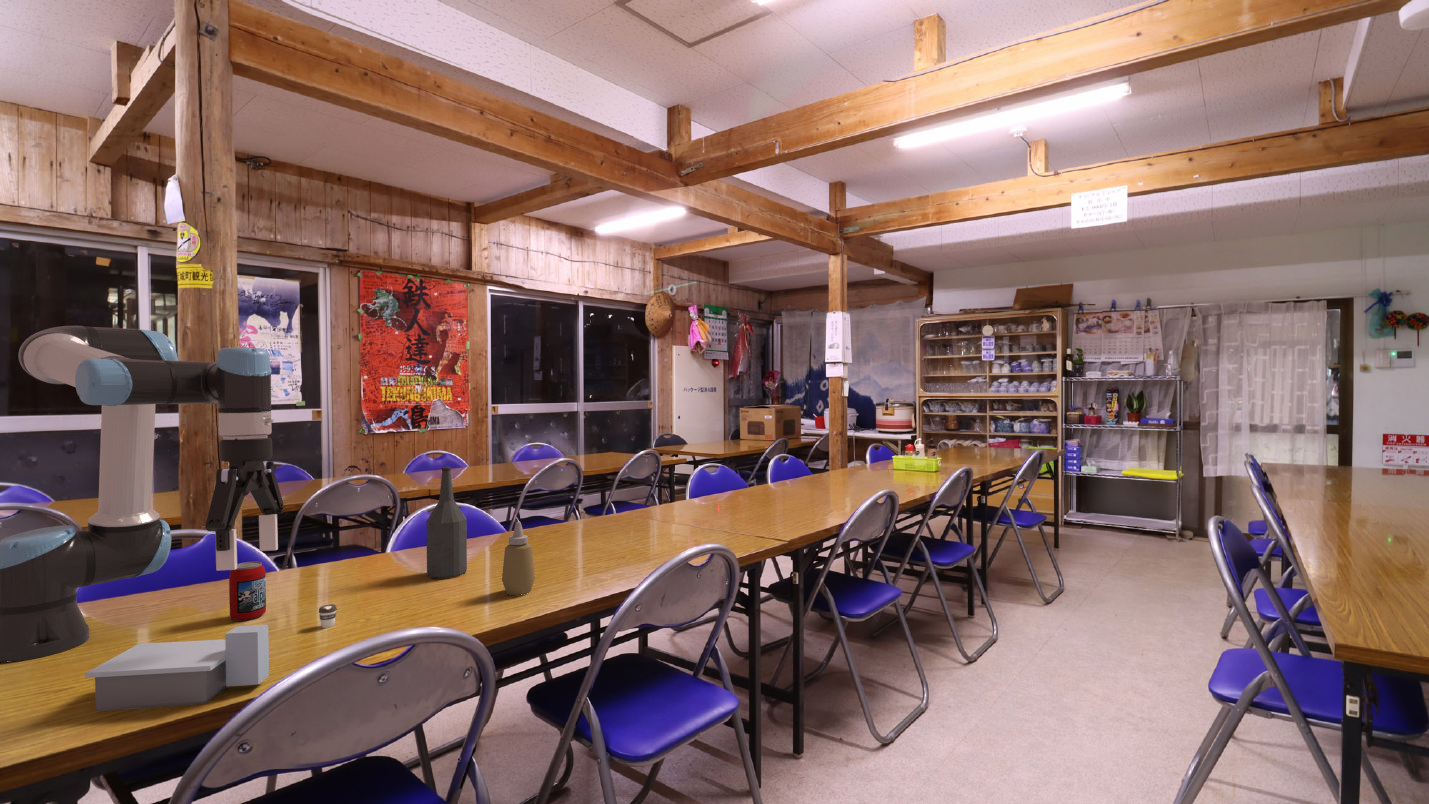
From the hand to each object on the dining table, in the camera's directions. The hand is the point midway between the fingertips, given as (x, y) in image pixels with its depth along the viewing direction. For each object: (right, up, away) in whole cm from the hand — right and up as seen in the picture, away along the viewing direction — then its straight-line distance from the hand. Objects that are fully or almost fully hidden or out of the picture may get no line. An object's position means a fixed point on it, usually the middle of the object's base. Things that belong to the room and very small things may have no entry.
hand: (249, 559), depth 115 cm
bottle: (+7, -21, +69) cm, 72 cm away
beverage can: (-25, -22, +35) cm, 48 cm away
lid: (-8, -21, -2) cm, 22 cm away
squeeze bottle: (+31, -21, +52) cm, 65 cm away
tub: (-11, -22, -3) cm, 25 cm away
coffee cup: (-3, -22, +29) cm, 36 cm away
